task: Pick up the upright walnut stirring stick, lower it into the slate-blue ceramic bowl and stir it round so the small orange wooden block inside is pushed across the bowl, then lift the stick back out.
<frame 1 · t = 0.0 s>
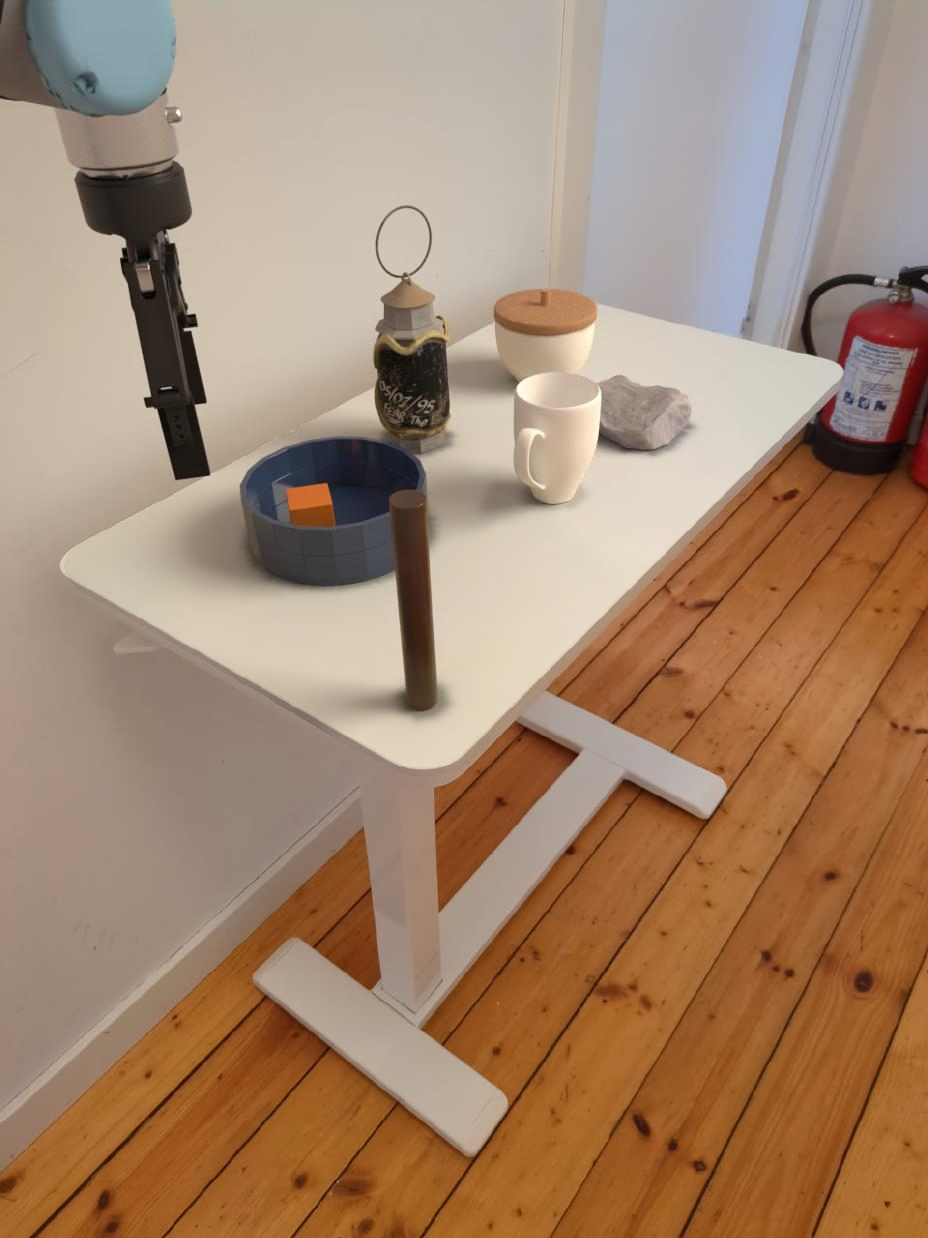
hand: (192, 437, 76), 13 cm above the table, tool pointing down, fingers open, 13 cm apart
block: (314, 531, 87), point 1 cm above the table, touching stir bowl
mug: (545, 503, 91), on the table
stone block: (626, 428, 103), on the table
lidded bowl: (542, 378, 115), on the table
stir bowl: (340, 533, 87), on the table
stick: (422, 699, 69), on the table
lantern: (416, 440, 102), on the table
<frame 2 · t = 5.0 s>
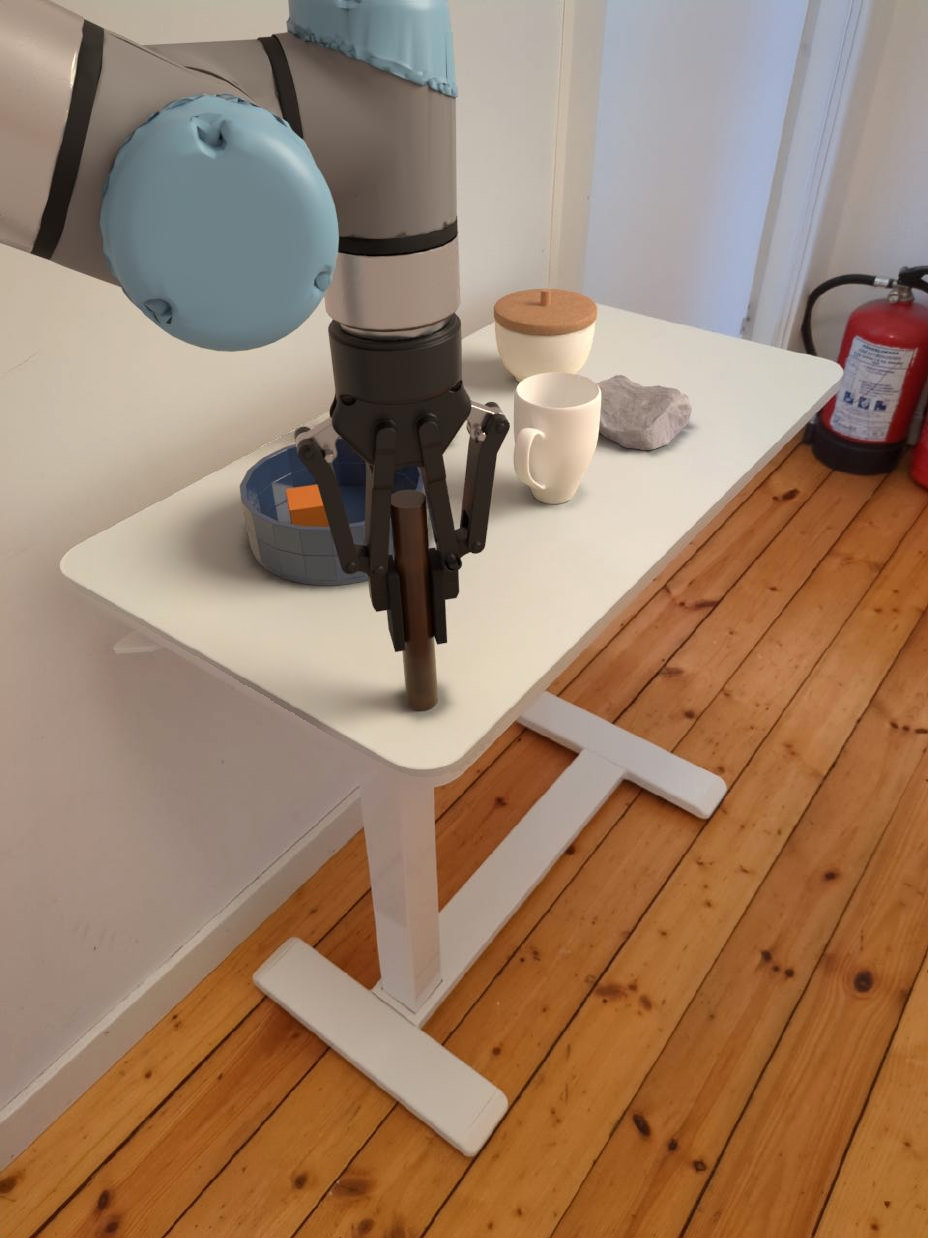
hand: (417, 635, 65), 7 cm above the table, tool pointing down, fingers closed on stick, 2 cm apart
stick: (422, 699, 69), on the table, touching gripper
everything else where it was.
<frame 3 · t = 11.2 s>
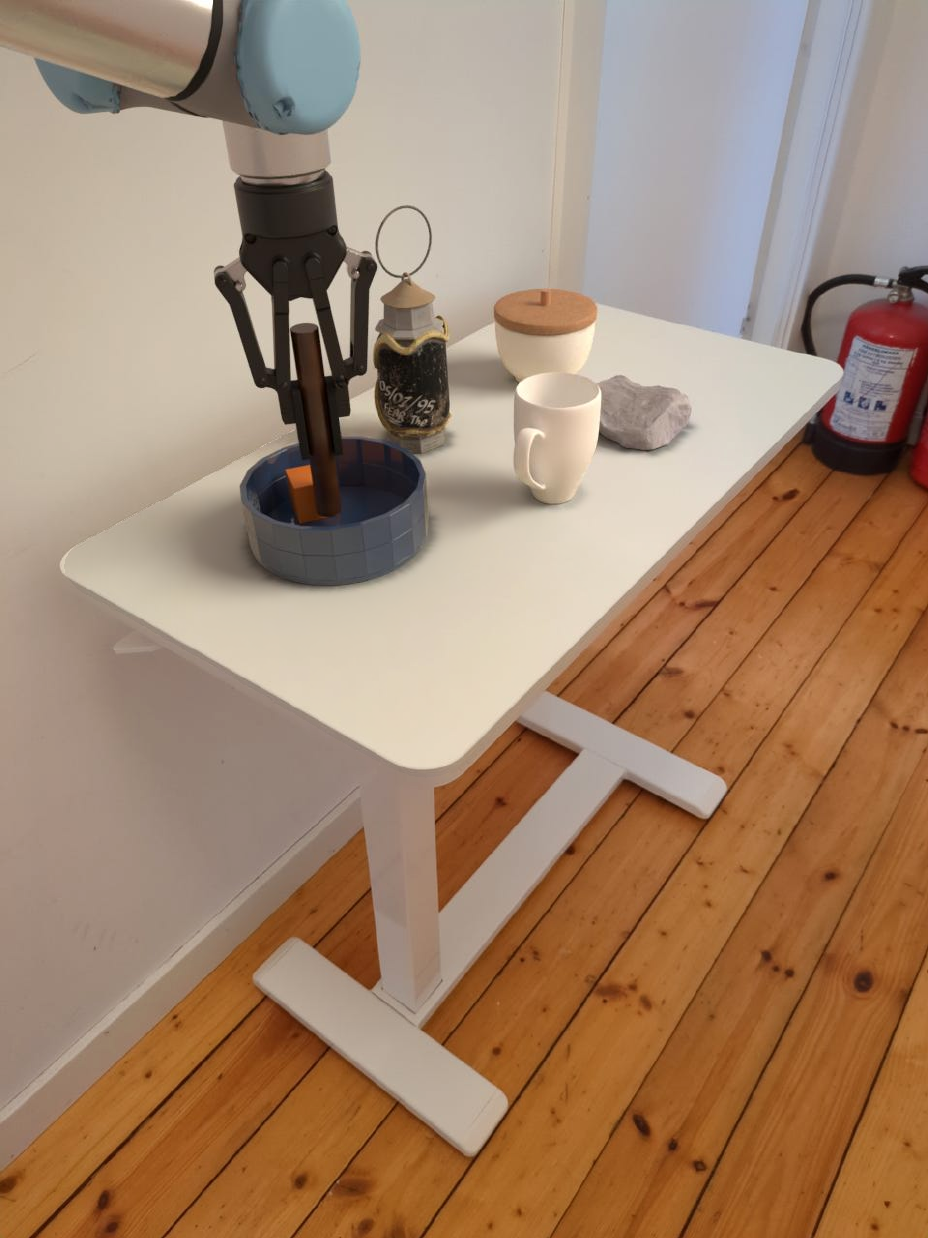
hand: (321, 450, 83), 9 cm above the table, tool pointing down, fingers closed on stick, 2 cm apart
block: (314, 509, 90), point 1 cm above the table, touching stir bowl
stick: (329, 510, 87), point 2 cm above the table, touching gripper
everything else where it was.
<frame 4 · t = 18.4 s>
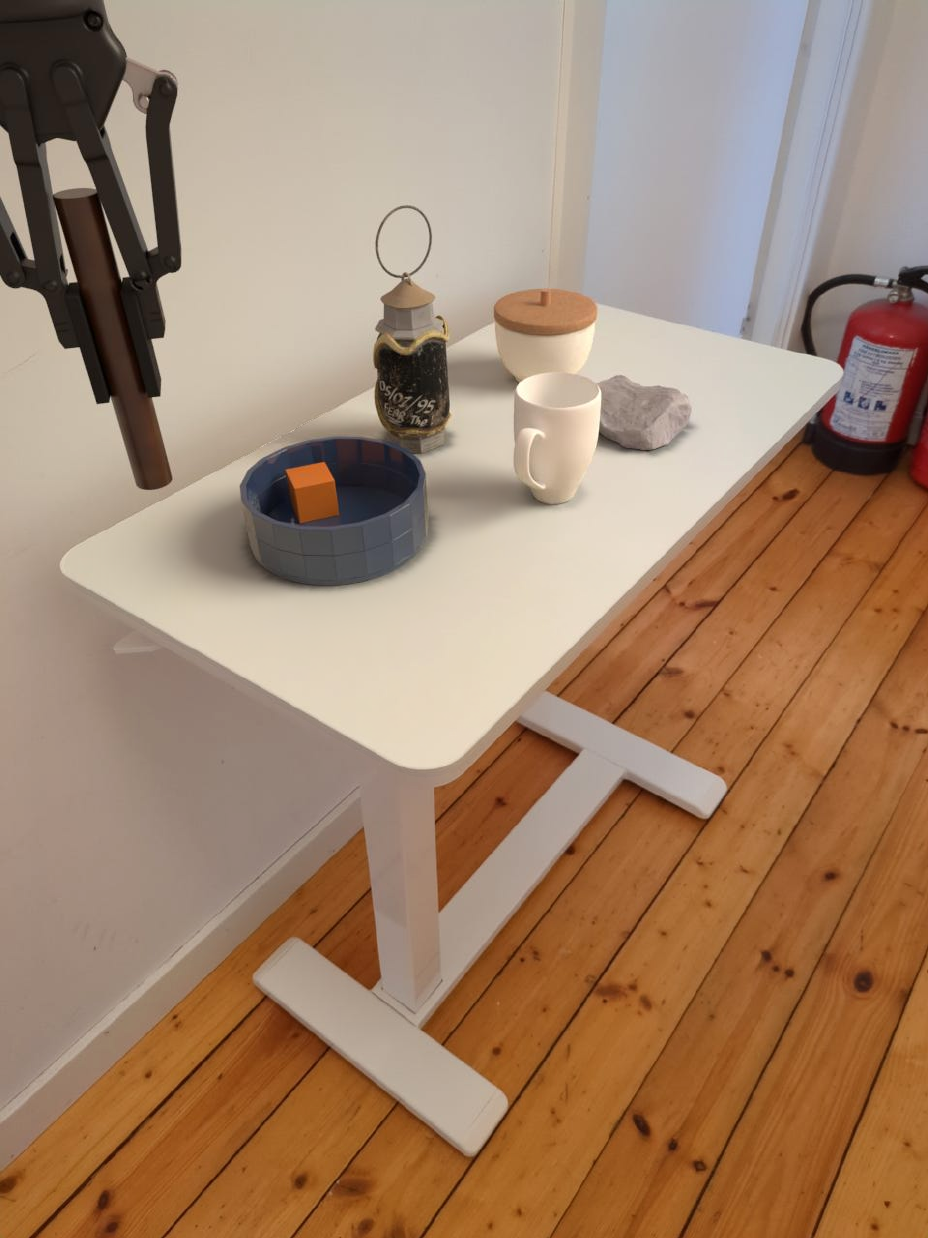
hand: (129, 390, 56), 24 cm above the table, tool pointing down, fingers closed on stick, 2 cm apart
stick: (154, 481, 60), point 18 cm above the table, touching gripper
everything else where it was.
at the end: block moved 4.0 cm from its start; block inside the target area in the stir bowl (4.5 cm from its centre), point 0.6 cm above the stir bowl's base; the gripper is holding stick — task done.
